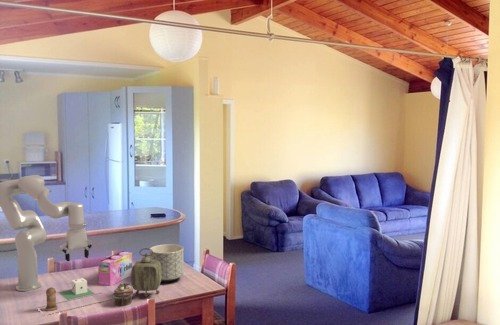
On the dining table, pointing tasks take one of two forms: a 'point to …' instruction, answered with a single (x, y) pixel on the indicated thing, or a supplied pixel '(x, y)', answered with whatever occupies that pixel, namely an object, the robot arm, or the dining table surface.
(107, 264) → the gum box
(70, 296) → the dice mat
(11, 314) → the dining table surface
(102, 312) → the dining table surface
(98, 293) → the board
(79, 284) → the die
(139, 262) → the tabletop clock
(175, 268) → the planter
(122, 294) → the cupcake
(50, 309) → the pawn
